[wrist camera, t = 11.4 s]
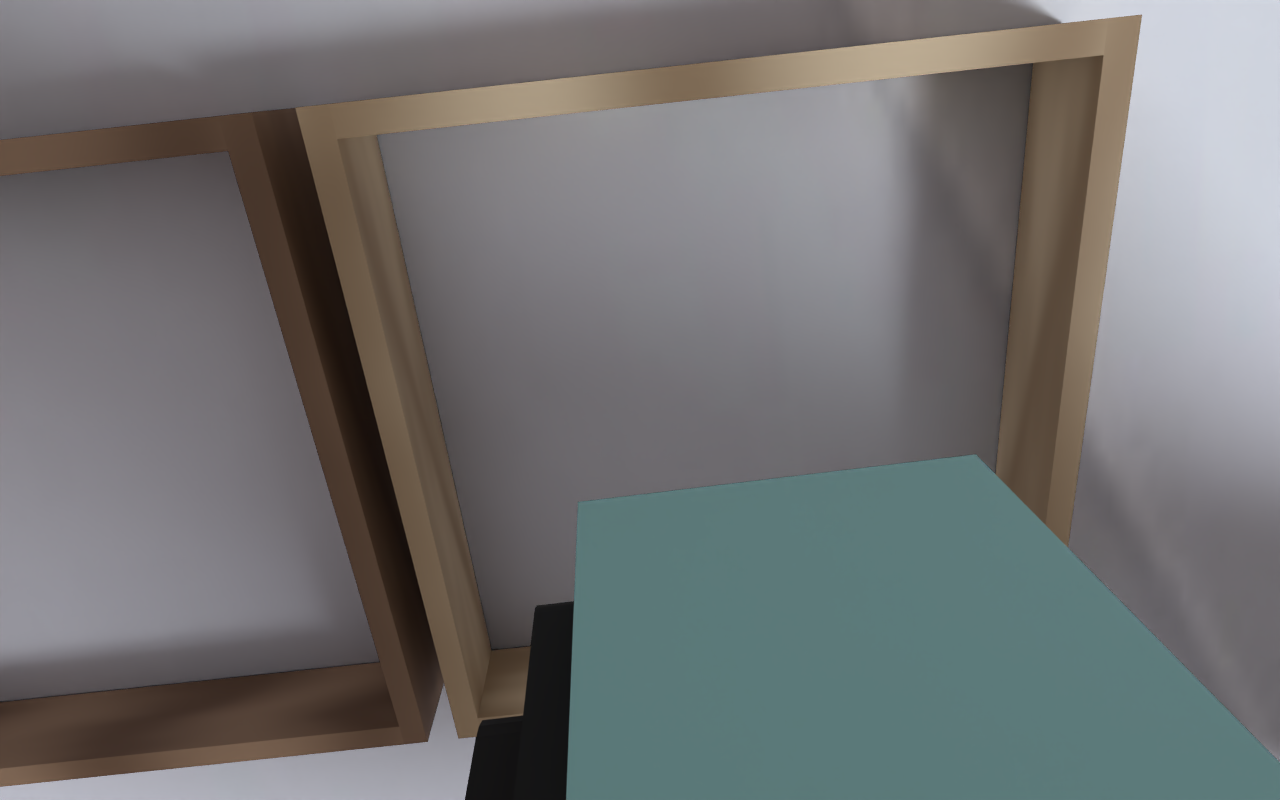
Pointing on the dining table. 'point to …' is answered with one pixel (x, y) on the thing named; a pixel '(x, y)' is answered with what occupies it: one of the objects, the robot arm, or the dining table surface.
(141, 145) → the walnut tray
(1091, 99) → the oak tray
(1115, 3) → the dining table surface
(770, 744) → the teal cube
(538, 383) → the dining table surface
